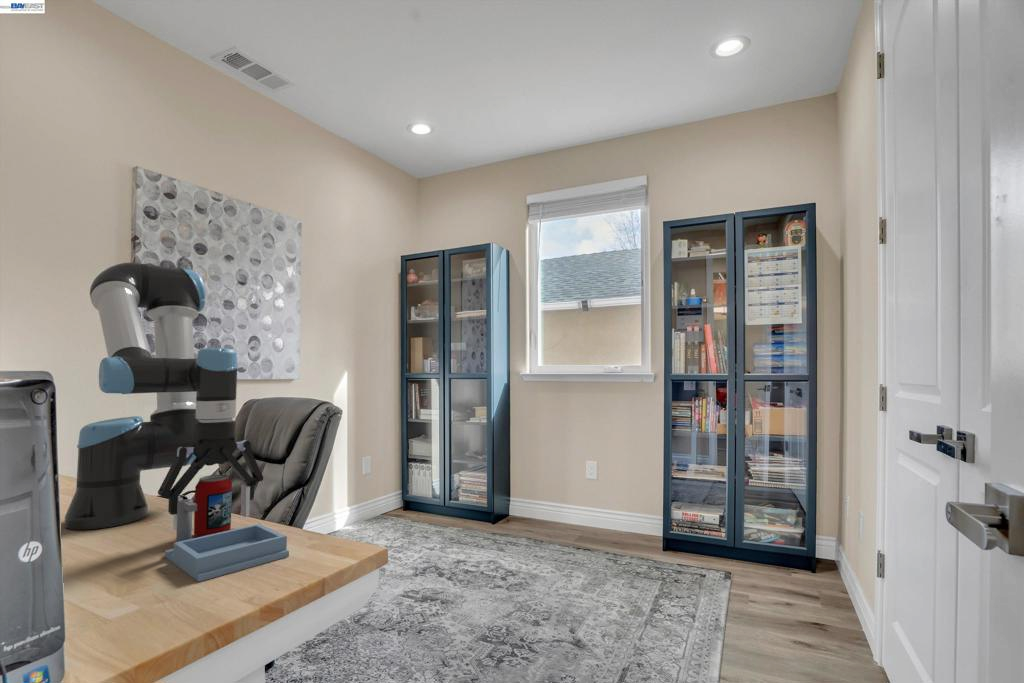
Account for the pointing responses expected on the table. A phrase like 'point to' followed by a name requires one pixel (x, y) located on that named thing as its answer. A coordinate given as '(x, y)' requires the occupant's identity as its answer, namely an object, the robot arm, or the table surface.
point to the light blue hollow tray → (222, 547)
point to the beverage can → (212, 505)
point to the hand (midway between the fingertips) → (212, 522)
